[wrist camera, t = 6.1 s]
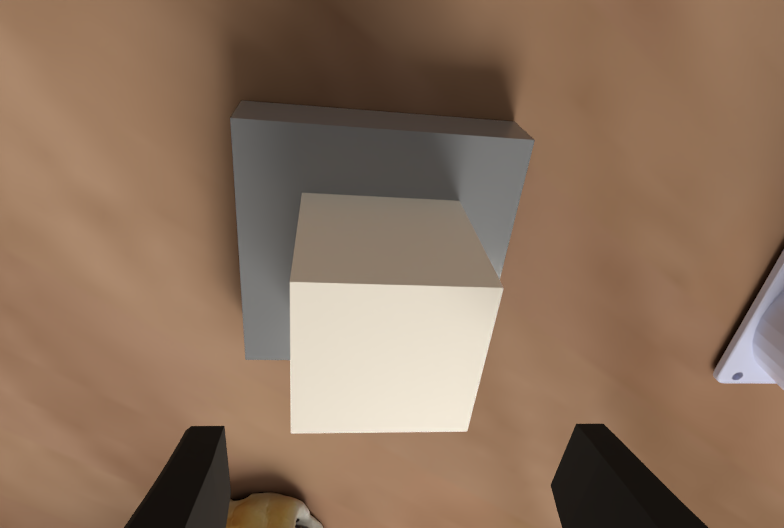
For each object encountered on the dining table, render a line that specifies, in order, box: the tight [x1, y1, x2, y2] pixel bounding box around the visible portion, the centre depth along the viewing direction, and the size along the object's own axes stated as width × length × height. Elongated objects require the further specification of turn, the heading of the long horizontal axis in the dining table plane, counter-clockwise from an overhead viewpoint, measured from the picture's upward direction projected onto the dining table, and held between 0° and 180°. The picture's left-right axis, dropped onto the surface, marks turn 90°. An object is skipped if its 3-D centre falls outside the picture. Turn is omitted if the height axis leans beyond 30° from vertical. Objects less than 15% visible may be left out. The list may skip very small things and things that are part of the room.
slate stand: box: [230, 100, 535, 360], centre depth 18 cm, size 9×9×2 cm
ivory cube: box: [290, 193, 503, 433], centre depth 15 cm, size 5×5×5 cm
